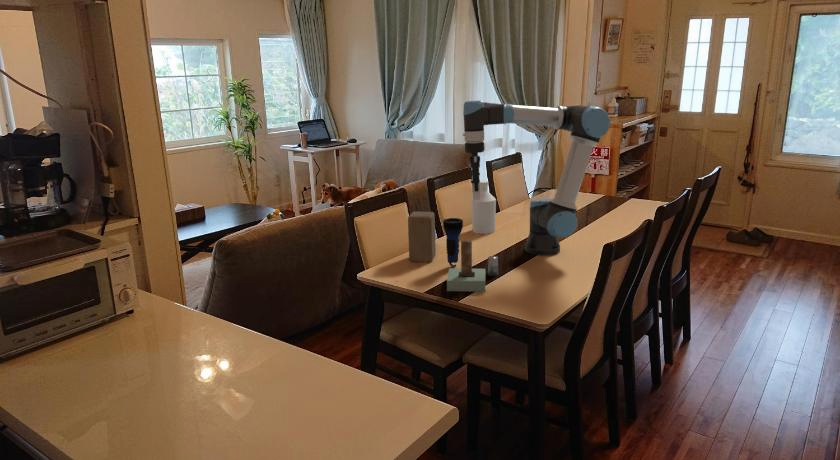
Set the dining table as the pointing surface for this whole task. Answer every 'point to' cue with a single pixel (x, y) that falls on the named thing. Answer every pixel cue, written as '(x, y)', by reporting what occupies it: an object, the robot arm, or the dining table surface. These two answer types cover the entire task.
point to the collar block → (466, 280)
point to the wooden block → (421, 236)
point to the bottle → (484, 211)
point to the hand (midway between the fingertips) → (476, 195)
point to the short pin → (493, 265)
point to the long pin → (466, 258)
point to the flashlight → (452, 238)
